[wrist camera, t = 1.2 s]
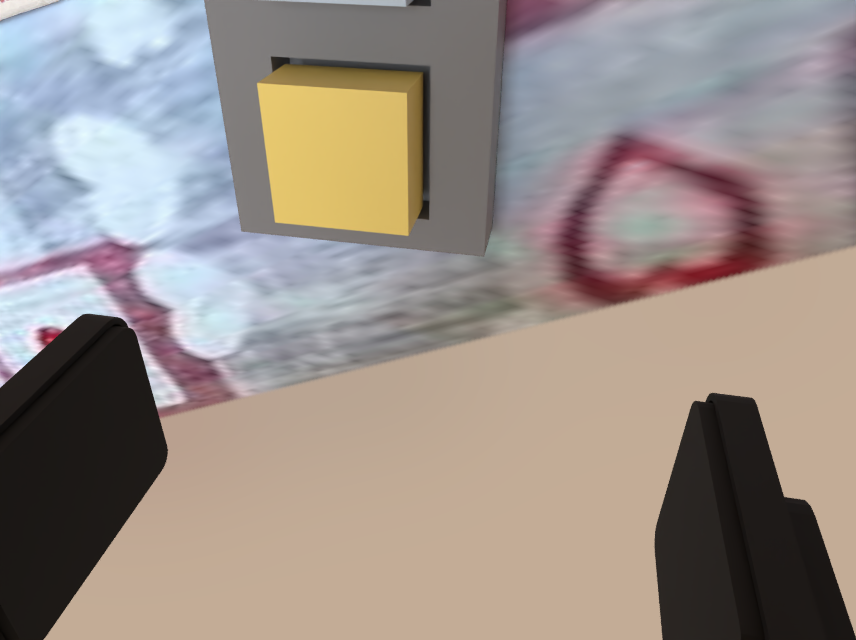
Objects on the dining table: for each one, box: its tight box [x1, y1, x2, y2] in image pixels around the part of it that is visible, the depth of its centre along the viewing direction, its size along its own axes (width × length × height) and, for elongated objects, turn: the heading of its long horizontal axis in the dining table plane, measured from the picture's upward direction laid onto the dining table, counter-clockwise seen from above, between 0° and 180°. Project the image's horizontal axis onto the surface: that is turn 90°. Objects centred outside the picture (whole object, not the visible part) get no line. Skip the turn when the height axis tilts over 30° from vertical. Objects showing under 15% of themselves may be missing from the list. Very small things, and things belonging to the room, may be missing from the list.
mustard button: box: [257, 64, 423, 236], centre depth 29 cm, size 6×6×3 cm
